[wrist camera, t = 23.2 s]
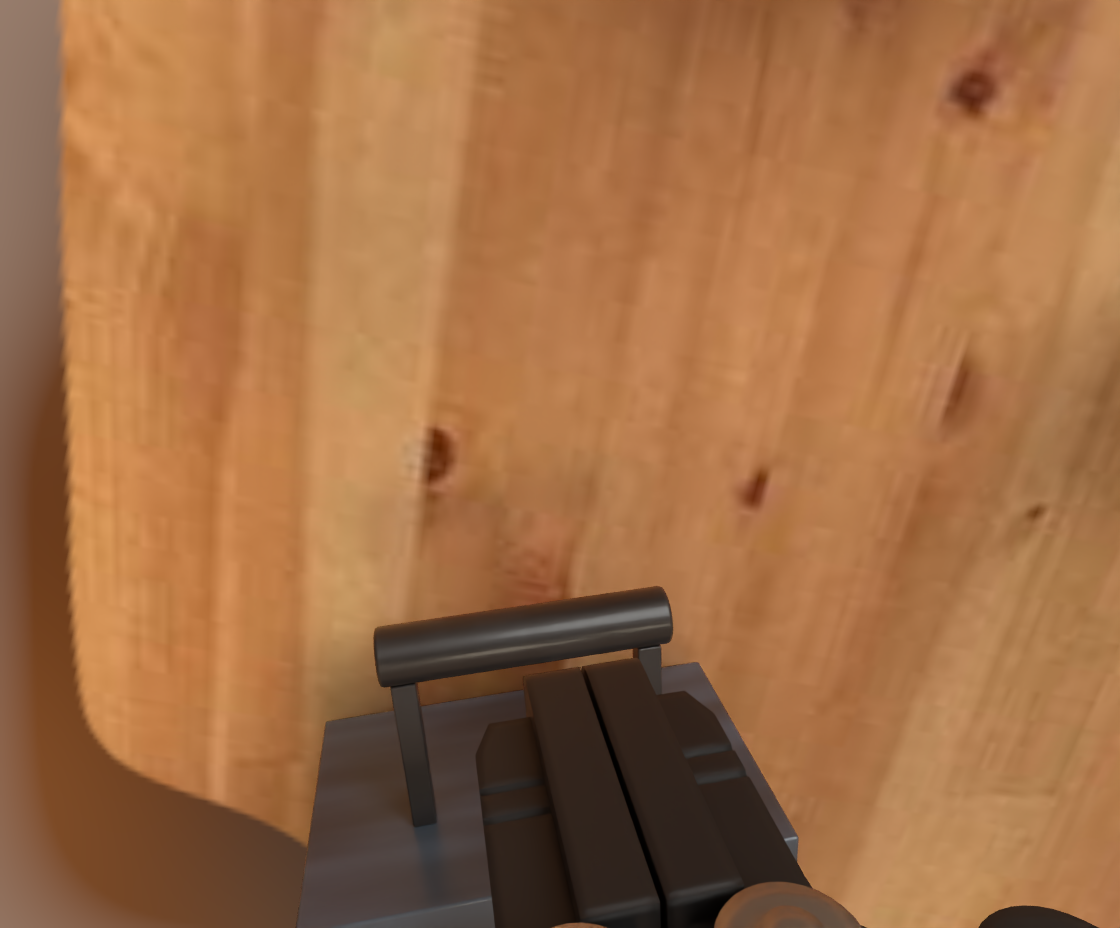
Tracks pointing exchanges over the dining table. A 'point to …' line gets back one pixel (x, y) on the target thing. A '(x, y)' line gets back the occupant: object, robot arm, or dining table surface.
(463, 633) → the drawer
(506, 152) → the dining table surface
